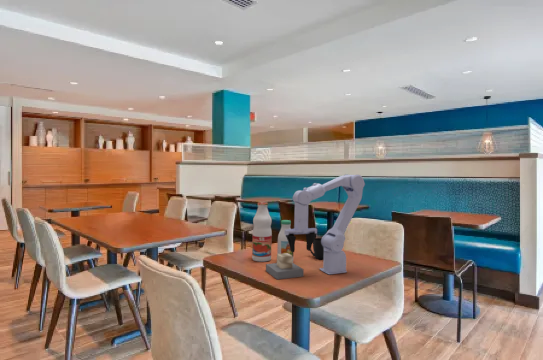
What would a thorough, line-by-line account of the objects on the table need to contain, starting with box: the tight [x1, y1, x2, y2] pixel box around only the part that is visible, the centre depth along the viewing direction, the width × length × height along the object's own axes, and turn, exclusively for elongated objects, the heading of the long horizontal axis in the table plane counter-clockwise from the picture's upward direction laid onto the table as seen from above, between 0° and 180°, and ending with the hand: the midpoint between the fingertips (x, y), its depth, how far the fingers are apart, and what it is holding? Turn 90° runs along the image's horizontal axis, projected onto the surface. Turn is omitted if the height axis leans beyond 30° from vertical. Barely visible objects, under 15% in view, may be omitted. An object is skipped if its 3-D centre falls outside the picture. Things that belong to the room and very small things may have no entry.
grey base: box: [265, 262, 305, 280], centre depth 139 cm, size 12×12×3 cm
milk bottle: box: [276, 219, 294, 257], centre depth 156 cm, size 8×8×20 cm
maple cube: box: [276, 253, 294, 269], centre depth 139 cm, size 5×5×5 cm
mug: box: [305, 237, 324, 261], centre depth 166 cm, size 8×12×10 cm
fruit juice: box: [251, 201, 273, 263], centre depth 160 cm, size 9×9×28 cm
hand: (300, 251), depth 138 cm, fingers open, 7 cm apart
